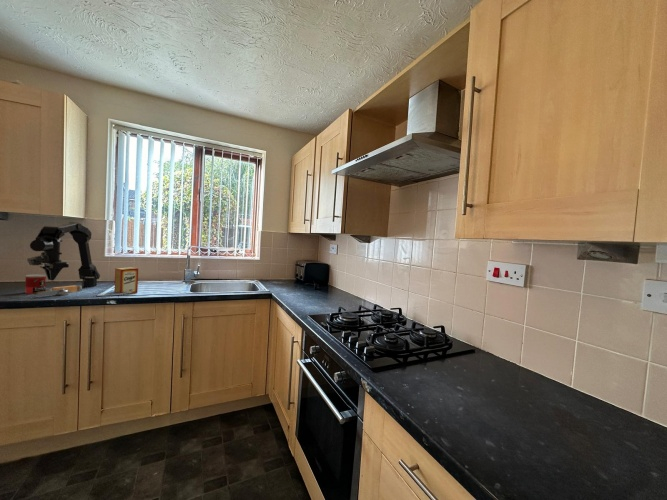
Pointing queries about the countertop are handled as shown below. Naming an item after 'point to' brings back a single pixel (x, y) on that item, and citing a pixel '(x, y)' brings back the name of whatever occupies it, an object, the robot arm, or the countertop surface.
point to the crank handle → (54, 292)
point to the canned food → (35, 283)
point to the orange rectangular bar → (66, 288)
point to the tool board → (79, 288)
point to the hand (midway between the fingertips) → (51, 280)
